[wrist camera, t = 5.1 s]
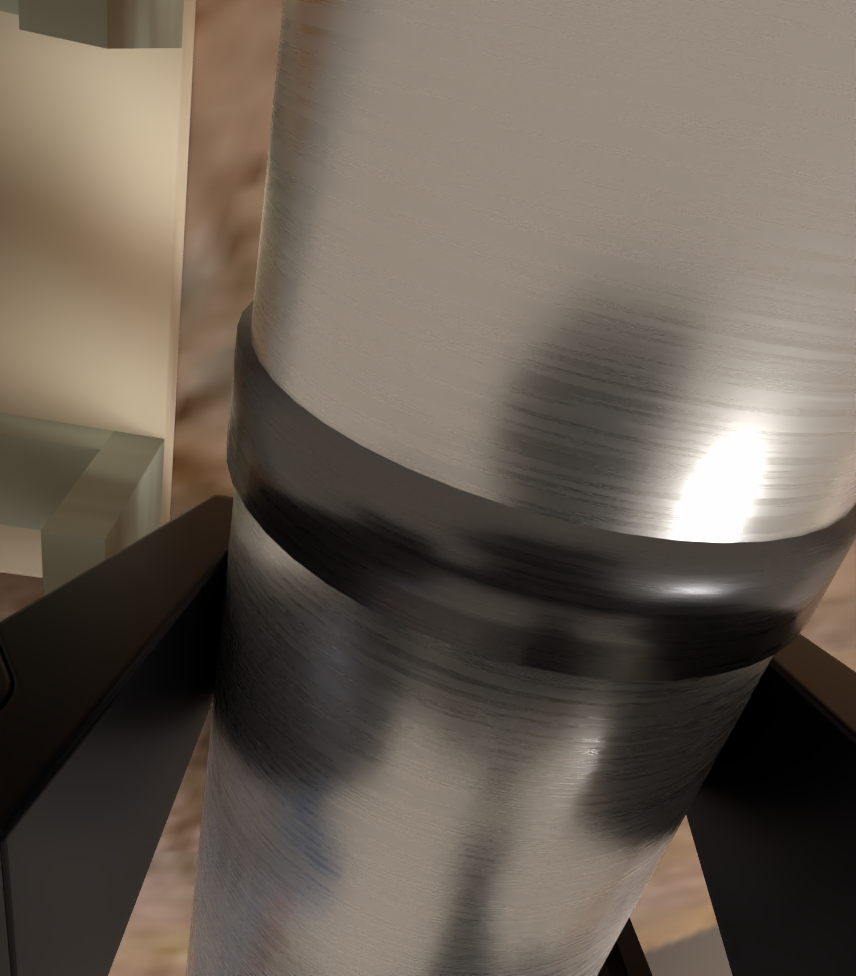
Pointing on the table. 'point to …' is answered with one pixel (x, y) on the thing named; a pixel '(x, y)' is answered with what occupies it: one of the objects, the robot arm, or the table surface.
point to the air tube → (519, 465)
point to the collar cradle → (89, 274)
